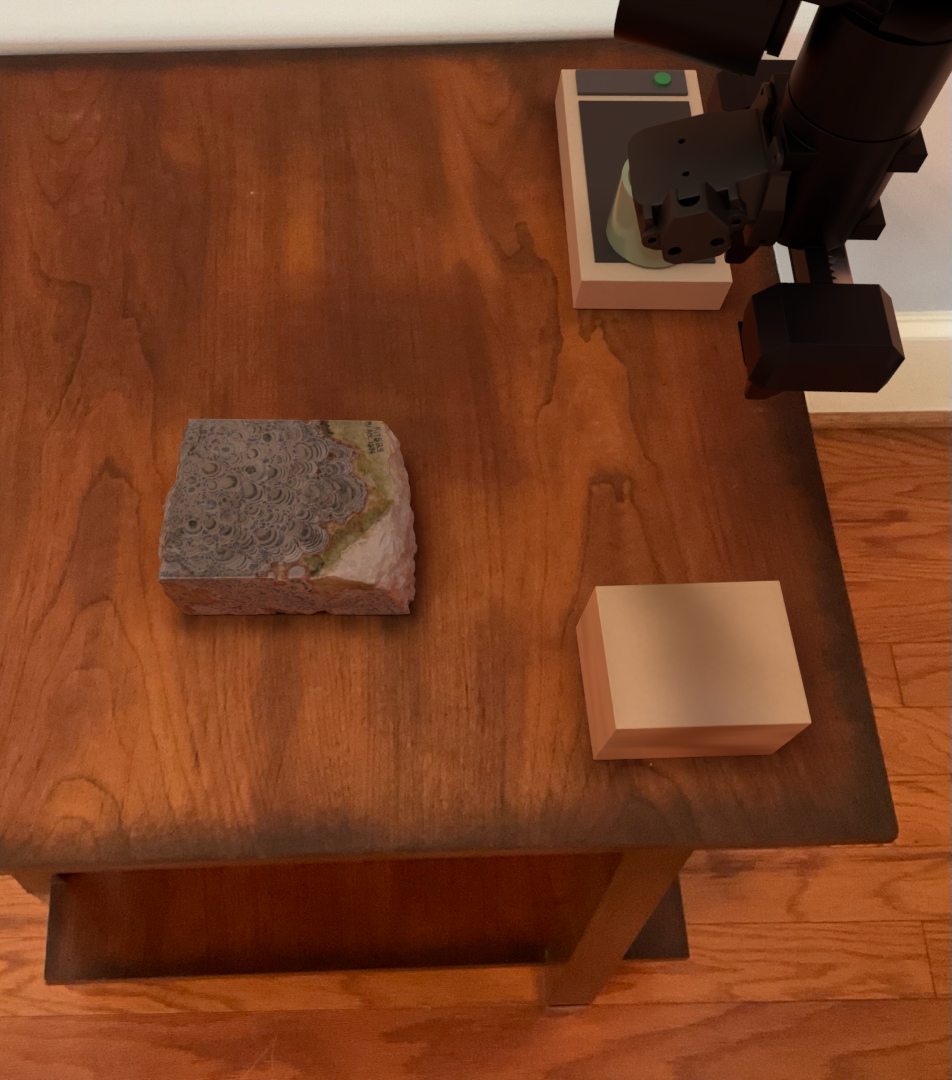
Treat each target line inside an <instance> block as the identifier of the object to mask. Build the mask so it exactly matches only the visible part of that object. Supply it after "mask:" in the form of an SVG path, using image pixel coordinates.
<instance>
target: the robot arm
mask: <svg viewBox="0 0 952 1080" xmlns="http://www.w3.org/2000/svg"><path fill="white" fill-rule="evenodd" d="M802 2H804V3H807V4H812V5H815V6H818V7H817V9H816V11H815V13H814V16H813V19H812V21H811V23H810V26H809V27H808V31H807V33H806V36H805V38H804V40H803V43H802V45H801V48H800V50H799V53H798V56H797V57H796V59H763V56H764V54H765V52H766V55H768V56H770V57H774V58H779V57H780V56H781V53H782V51H783V49H784V47H785V44H786V41H787V39H788V37H789V35H790V32H791V29H792V28H793V25H794V22H795V20H796V18H797V15H798V12H799V10H800V7H801V5H802ZM616 8H617V9H616V14H615V18H614V24H613V38H614V39H615V40H617V41H620V42H623V43H626V44H630V45H634V46H637V47H641V48H645V49H648V50H651V51H655V52H658V53H661V54H665V55H669V56H672V57H676V58H679V59H682V60H687V61H689V62H693V63H697V64H700V65H704V66H707V67H710V68H714V69H717V70H720V71H719V72H717V73H716V74H715V76H714V80H713V83H712V86H711V87H710V88H711V89H710V91H709V94H708V96H707V100H706V110H707V112H703V114H699V115H695V116H691V117H687V118H683V119H679V120H675V121H671V122H667V123H663V124H659V125H655V126H651V127H648V128H645V129H642V130H640V131H638V132H637V133H635V134H634V135H633V136H632V137H631V139H630V140H629V142H628V146H627V151H628V161H629V170H630V180H631V190H632V197H633V202H634V206H635V211H636V216H637V221H638V226H639V231H640V236H641V242H642V245H643V246H644V247H646V248H649V249H652V250H662V255H663V259H664V261H666V262H668V263H671V264H674V265H678V264H683V263H688V262H693V261H697V260H702V259H707V258H712V257H717V256H720V255H722V254H723V253H724V259H725V262H726V263H728V264H730V265H741V264H745V263H746V262H747V261H748V260H749V259H750V258H751V257H752V256H753V255H754V254H755V253H756V251H758V250H759V249H760V248H761V247H767V248H768V247H773V246H775V244H776V243H777V244H778V245H780V246H782V247H786V248H787V251H788V252H787V253H788V258H789V263H790V268H791V273H792V277H793V278H792V279H793V282H786V281H785V282H783V281H782V282H781V281H779V282H777V283H774V284H772V285H770V286H768V287H766V288H764V289H762V290H760V291H758V292H755V293H754V294H752V295H750V298H749V300H748V301H747V303H746V305H745V308H744V310H743V317H742V320H741V321H740V320H738V321H737V328H738V334H739V341H740V348H741V355H742V361H743V366H744V367H745V368H746V375H747V377H746V382H745V387H744V392H743V393H744V399H745V400H753V401H754V400H756V401H759V400H761V401H764V400H767V399H771V398H772V397H775V396H777V395H779V394H781V393H784V392H807V393H809V392H812V393H813V392H814V393H816V392H817V393H859V394H860V393H861V394H878V393H879V392H880V391H881V390H882V389H883V388H884V387H885V386H886V385H887V384H888V383H889V382H890V380H892V378H893V376H894V375H895V373H896V372H897V371H898V370H899V369H900V367H901V366H902V364H903V363H904V361H905V360H906V356H905V355H906V354H905V351H904V347H903V342H902V338H901V334H900V329H899V326H898V321H897V317H896V313H895V308H894V303H893V300H892V296H890V295H889V294H888V293H887V291H886V290H885V289H884V288H883V287H882V286H881V284H880V283H855V282H854V279H853V275H852V270H851V266H850V261H849V257H848V250H847V246H846V243H847V241H878V240H879V237H880V236H881V234H882V233H883V232H884V230H885V228H886V227H887V223H886V218H885V213H884V209H883V205H882V201H881V197H882V194H883V193H884V191H885V190H886V188H887V186H888V185H889V182H890V181H891V179H892V177H893V176H894V174H895V173H899V174H903V173H904V174H908V173H909V174H917V173H918V172H919V171H920V169H921V167H922V166H923V164H924V163H925V161H926V159H927V158H928V156H929V153H928V149H927V146H926V142H925V138H924V135H923V134H924V133H923V131H922V128H921V127H922V125H923V124H924V122H925V119H926V118H927V115H929V112H930V111H931V109H932V107H933V105H934V104H935V102H936V100H937V98H938V97H939V95H940V93H941V92H942V90H943V88H944V86H945V84H946V83H947V81H948V79H949V78H950V77H951V74H952V0H618V5H617V7H616Z"/></svg>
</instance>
